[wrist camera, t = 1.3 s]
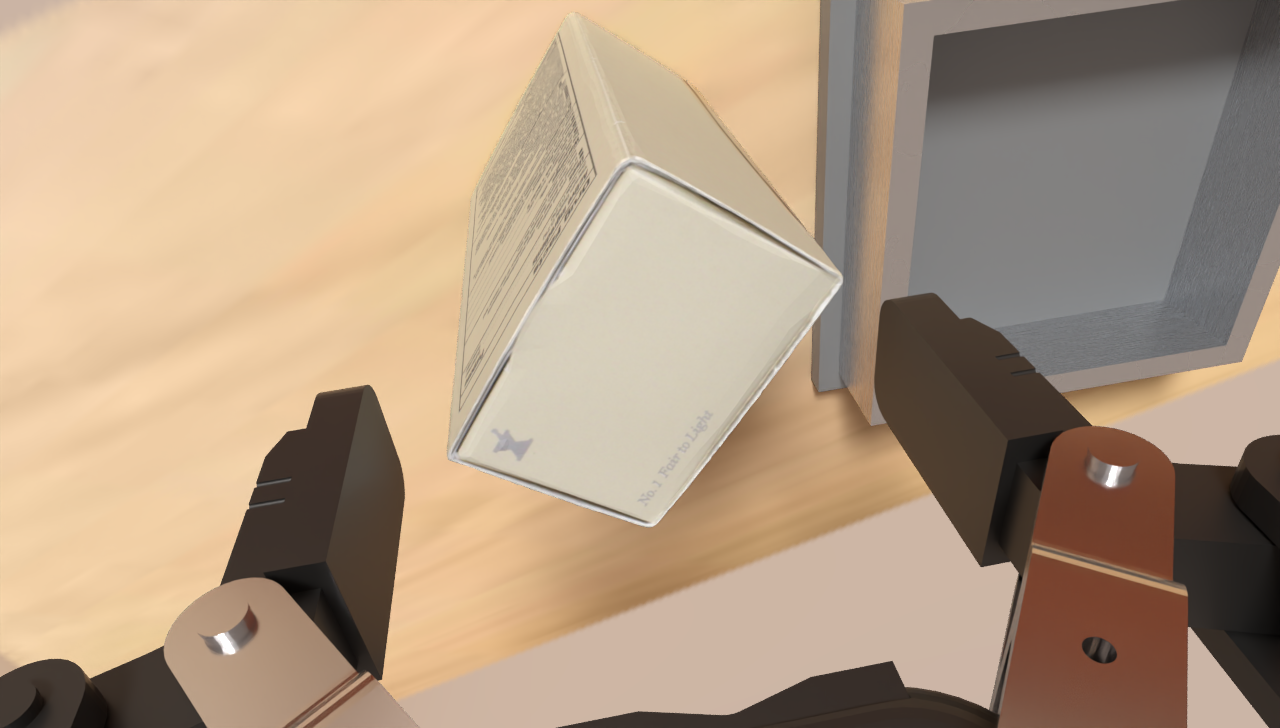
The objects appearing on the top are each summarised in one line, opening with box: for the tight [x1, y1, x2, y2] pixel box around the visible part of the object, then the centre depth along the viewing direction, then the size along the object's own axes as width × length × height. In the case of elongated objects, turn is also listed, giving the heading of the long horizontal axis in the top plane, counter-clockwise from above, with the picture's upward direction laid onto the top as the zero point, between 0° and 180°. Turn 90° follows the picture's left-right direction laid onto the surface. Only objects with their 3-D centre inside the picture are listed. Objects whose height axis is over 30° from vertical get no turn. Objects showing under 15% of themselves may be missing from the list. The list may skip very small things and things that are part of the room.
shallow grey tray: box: [838, 0, 1280, 426], centre depth 24 cm, size 13×13×3 cm
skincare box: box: [447, 12, 843, 527], centre depth 18 cm, size 6×4×12 cm
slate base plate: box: [811, 0, 1257, 392], centre depth 25 cm, size 14×14×1 cm
